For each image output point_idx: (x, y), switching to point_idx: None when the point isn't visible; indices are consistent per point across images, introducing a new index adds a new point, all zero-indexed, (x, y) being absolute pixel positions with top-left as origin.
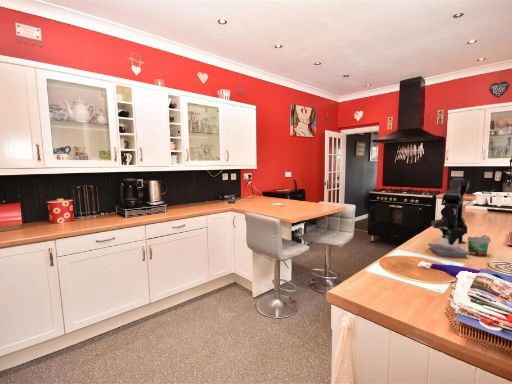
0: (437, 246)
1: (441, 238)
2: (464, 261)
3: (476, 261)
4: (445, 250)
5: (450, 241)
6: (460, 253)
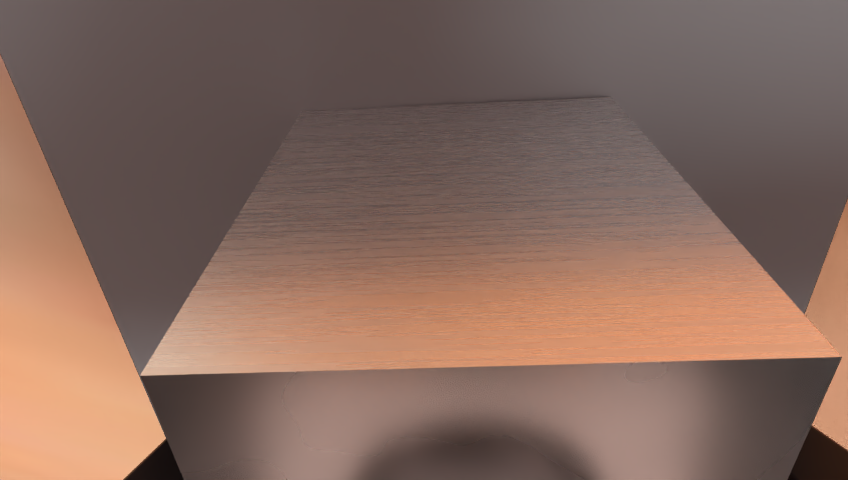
0: (544, 32)
1: (476, 292)
2: (10, 309)
3: (134, 452)
4: (139, 128)
5: (138, 474)
6: None
